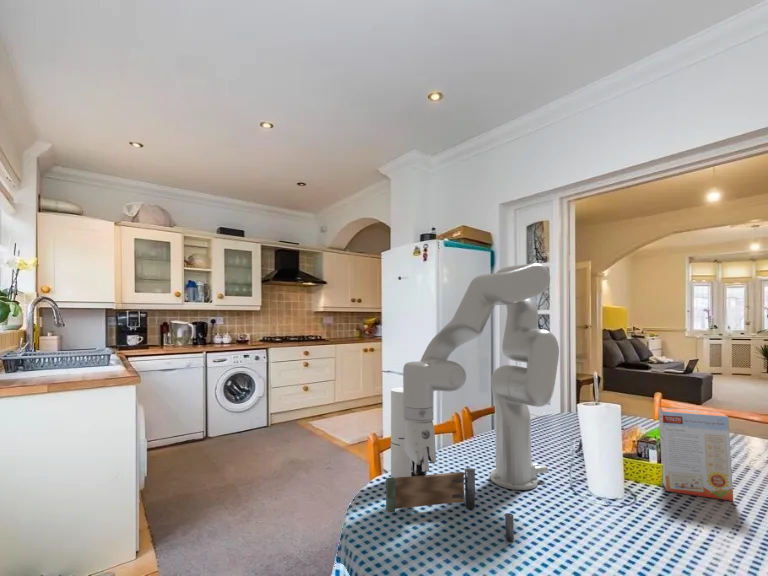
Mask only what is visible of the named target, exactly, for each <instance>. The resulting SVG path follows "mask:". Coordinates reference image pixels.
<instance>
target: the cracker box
mask: <svg viewBox="0 0 768 576" xmlns="http://www.w3.org/2000/svg"><path fill="white" fill-rule="evenodd" d="M658 420H659V421H658V422H659V427H658V428H659V439H660V440H659V441H660V442H659V443H660V458H661V459H660V460H661V464H663V483H662V485H663V486H664V489H665V490H666V491H667V492H671V493H678V494H683V495H690V496H691V495H692V496H696V497H705V498H710V499H716V500H722V499H723V500H722V501H728V500H729V501H731V502H734V490H733V489H734V488H733V485H734V484H733V473H732V472H733V470H732V469H733V467H732V455H731V454H732V453H731V439H730V425H729V423H730V422H729V420H730V419H729V416H728V415H726V414H724V413H722V412H721V411H713V410H712V411H711V410H701V409H700V410H699V409H687V408H678V407H677V408H675V407H663V406H662V407H660V406H659V407H658Z"/></svg>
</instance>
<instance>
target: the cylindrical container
mask: <svg viewBox="0 0 768 576" xmlns="http://www.w3.org/2000/svg"><path fill="white" fill-rule="evenodd" d="M404 439H405V420H404V419H403V386H402V387H401V386H399V387H393V388H391V389H390V478H392V477H394V478H398V477H409V476H411V472H413V471H411V461H410V457H409V456H408V455H407V454H406V452H405V443H404Z"/></svg>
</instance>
